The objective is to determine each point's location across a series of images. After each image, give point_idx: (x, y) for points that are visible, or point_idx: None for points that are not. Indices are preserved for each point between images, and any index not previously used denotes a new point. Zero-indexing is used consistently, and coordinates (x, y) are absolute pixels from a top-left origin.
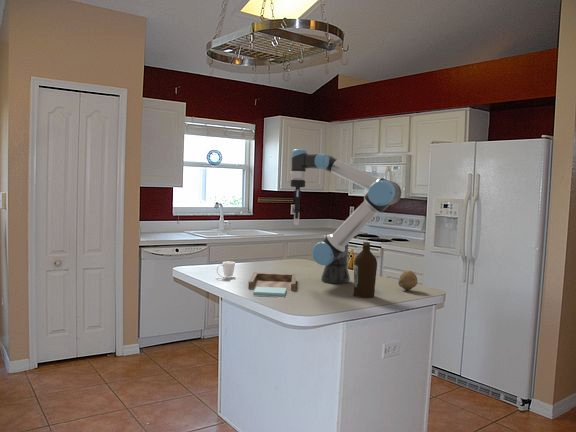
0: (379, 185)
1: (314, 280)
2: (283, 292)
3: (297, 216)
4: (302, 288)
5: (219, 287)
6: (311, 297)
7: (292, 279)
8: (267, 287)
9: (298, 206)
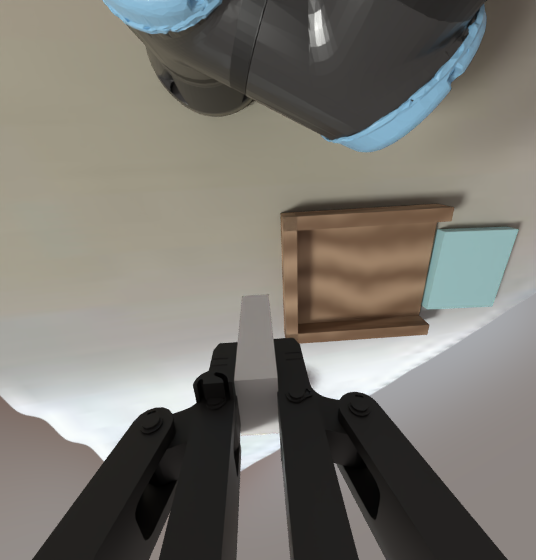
0: None
1: (227, 146)
2: (507, 234)
3: (302, 358)
4: (379, 184)
5: (389, 380)
6: (510, 148)
7: (381, 222)
8: (438, 282)
9: (433, 485)
